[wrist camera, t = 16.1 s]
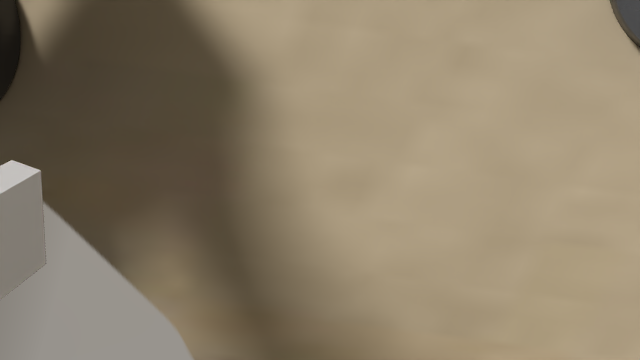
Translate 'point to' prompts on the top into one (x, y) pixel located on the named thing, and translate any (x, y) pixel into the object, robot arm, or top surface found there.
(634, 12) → the pad
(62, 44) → the top surface
